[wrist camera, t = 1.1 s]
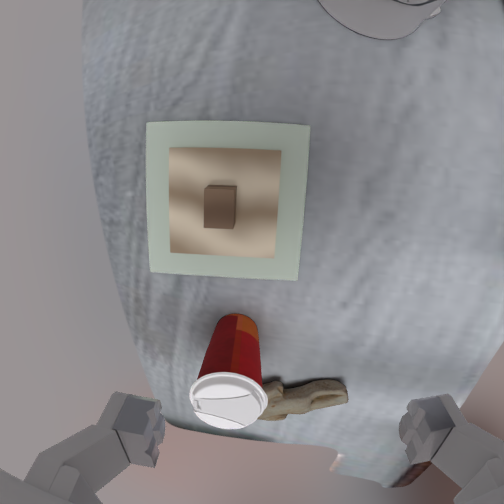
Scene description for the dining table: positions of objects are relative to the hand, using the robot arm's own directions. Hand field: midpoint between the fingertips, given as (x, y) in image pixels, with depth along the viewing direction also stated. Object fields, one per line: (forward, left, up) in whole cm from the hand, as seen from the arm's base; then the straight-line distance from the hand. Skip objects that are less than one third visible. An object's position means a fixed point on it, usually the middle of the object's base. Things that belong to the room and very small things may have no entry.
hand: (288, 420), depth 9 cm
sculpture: (+26, +6, -29) cm, 40 cm away
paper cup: (+16, -3, -29) cm, 33 cm away
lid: (-1, -5, -28) cm, 29 cm away
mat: (-1, -5, -29) cm, 29 cm away
